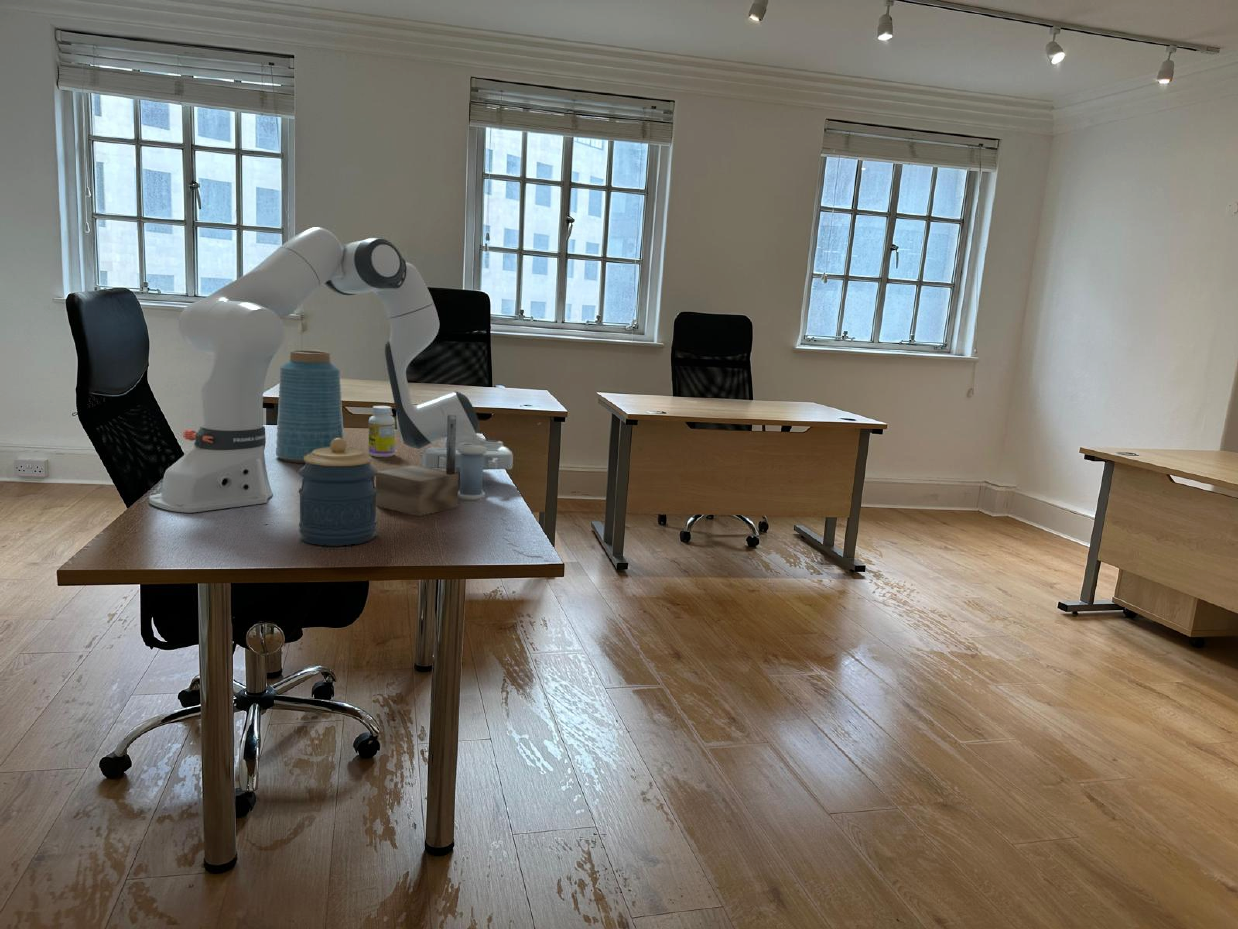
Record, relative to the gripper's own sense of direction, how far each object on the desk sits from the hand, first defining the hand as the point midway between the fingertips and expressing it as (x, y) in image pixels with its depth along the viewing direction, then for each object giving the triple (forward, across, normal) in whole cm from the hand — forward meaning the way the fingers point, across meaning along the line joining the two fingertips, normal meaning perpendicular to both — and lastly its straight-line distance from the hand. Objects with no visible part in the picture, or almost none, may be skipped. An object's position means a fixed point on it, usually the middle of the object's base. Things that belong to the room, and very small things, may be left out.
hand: (470, 465), depth 185 cm
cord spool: (+3, 0, +6) cm, 7 cm away
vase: (-38, -37, +7) cm, 53 cm away
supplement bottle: (-43, -20, +7) cm, 48 cm away
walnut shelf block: (+11, -11, +6) cm, 17 cm away
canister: (+33, -25, +7) cm, 42 cm away
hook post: (+14, -5, -1) cm, 15 cm away
